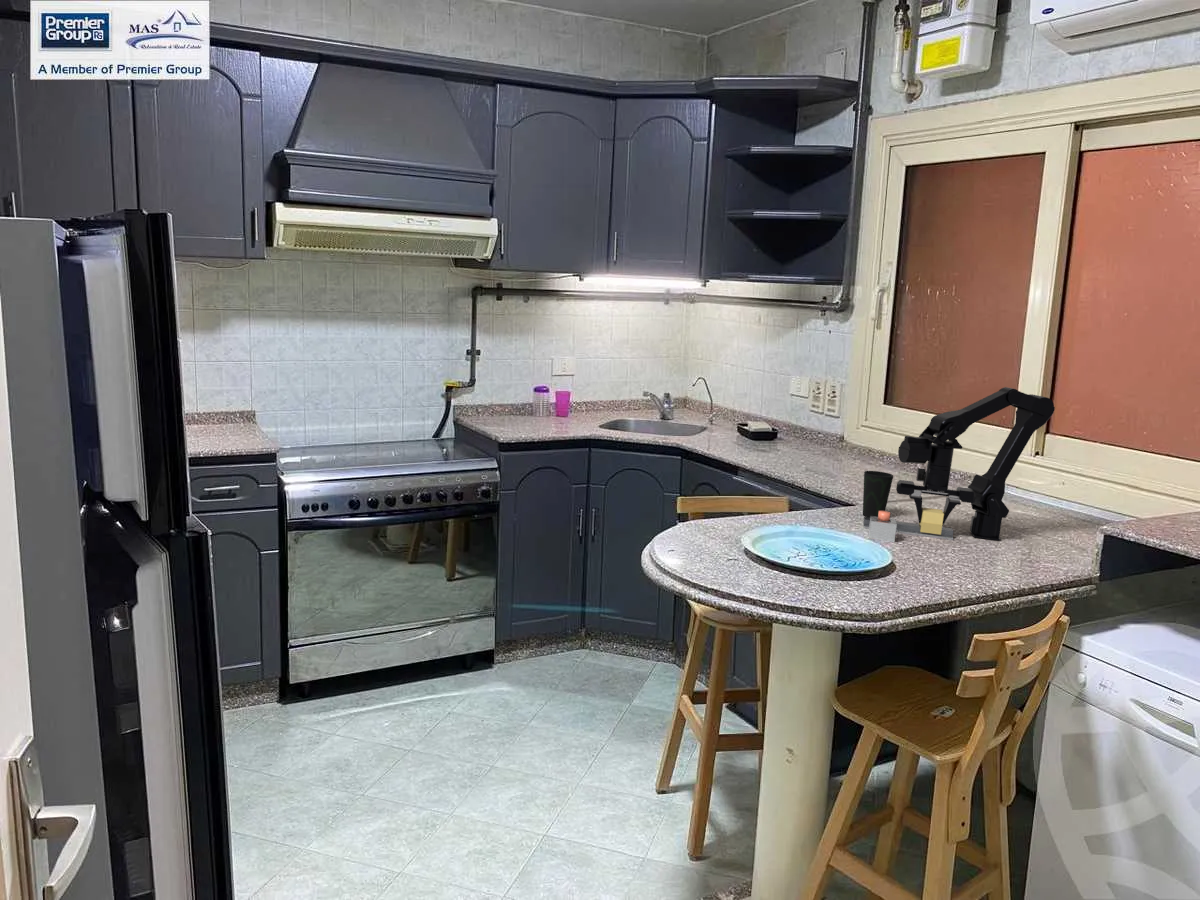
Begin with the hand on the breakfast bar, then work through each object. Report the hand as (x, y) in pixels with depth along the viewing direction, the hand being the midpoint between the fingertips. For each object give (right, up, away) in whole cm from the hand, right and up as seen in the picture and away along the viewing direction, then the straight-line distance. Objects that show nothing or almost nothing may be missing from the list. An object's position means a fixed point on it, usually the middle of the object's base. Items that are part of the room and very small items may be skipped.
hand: (930, 523), depth 241 cm
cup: (-10, +1, +16) cm, 19 cm away
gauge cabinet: (-15, -3, -7) cm, 17 cm away
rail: (-6, -2, +2) cm, 6 cm away
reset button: (-15, +2, -8) cm, 17 cm away
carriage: (0, -3, 0) cm, 3 cm away
